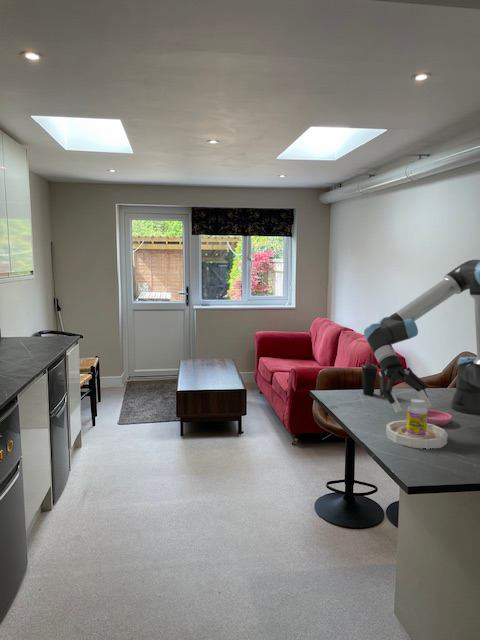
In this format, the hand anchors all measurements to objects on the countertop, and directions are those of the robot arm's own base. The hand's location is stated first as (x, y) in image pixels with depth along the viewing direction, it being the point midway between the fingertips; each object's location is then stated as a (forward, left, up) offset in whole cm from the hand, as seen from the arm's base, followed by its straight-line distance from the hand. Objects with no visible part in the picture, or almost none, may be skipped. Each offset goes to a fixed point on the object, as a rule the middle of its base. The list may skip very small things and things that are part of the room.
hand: (414, 409), depth 166 cm
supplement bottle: (-1, 0, -9) cm, 10 cm away
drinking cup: (+13, -54, -11) cm, 57 cm away
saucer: (-11, -20, -11) cm, 26 cm away
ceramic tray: (-1, +1, -10) cm, 10 cm away
